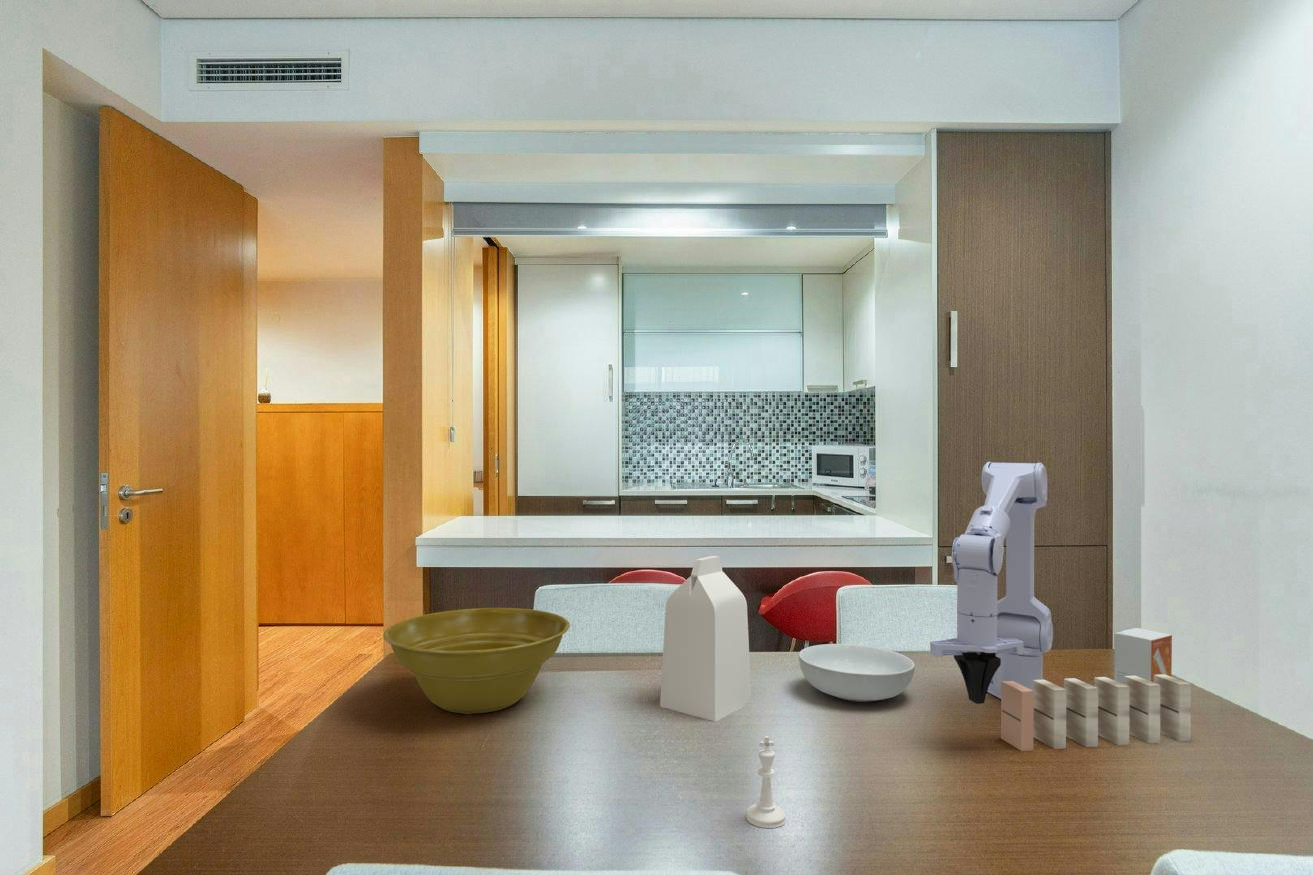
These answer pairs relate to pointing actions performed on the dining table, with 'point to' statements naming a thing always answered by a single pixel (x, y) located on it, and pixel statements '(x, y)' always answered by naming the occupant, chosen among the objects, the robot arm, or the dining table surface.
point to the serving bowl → (856, 671)
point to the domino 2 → (1081, 712)
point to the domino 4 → (1144, 709)
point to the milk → (706, 645)
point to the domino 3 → (1113, 710)
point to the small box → (1142, 654)
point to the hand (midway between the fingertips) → (976, 701)
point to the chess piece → (766, 794)
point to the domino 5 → (1174, 707)
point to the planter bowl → (476, 654)
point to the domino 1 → (1049, 714)
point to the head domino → (1017, 715)
